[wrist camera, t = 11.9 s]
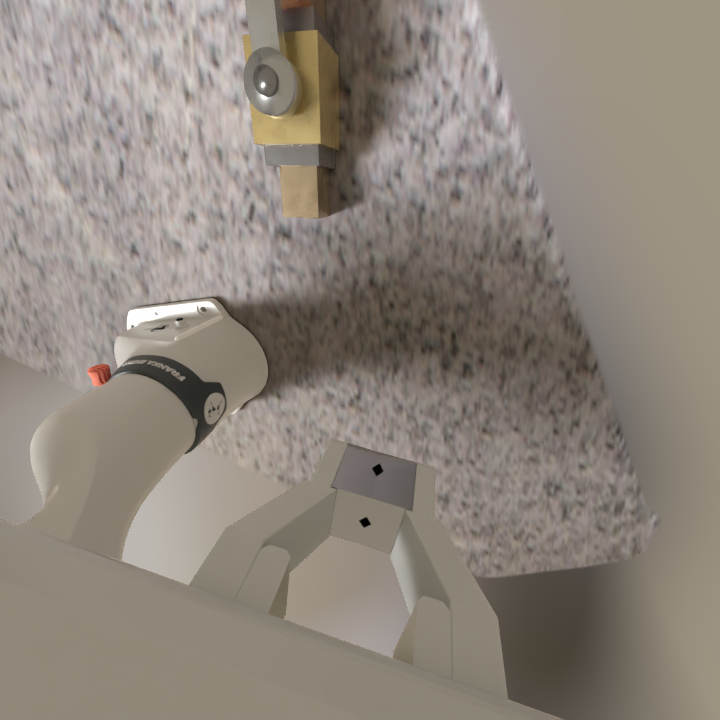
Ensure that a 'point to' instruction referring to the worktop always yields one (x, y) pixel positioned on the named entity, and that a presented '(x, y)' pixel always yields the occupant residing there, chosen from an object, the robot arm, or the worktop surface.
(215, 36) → the worktop surface
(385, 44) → the worktop surface
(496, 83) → the worktop surface
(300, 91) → the lever
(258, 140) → the valve
